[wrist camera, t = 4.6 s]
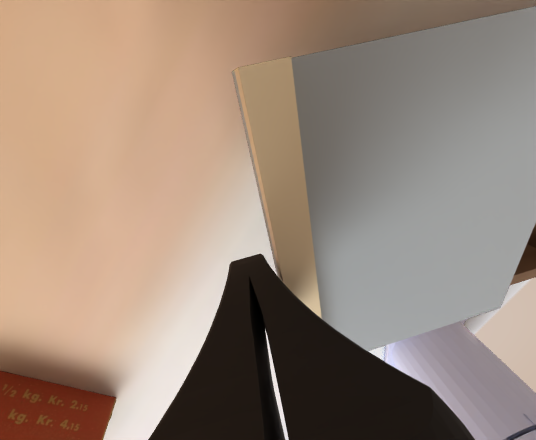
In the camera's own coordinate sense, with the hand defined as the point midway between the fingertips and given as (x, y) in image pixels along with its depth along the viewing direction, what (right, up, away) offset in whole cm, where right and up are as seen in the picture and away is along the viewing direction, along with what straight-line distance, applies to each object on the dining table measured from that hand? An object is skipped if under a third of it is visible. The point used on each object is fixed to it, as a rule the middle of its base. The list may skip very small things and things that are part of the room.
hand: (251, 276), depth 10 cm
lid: (+7, +2, +1) cm, 7 cm away
